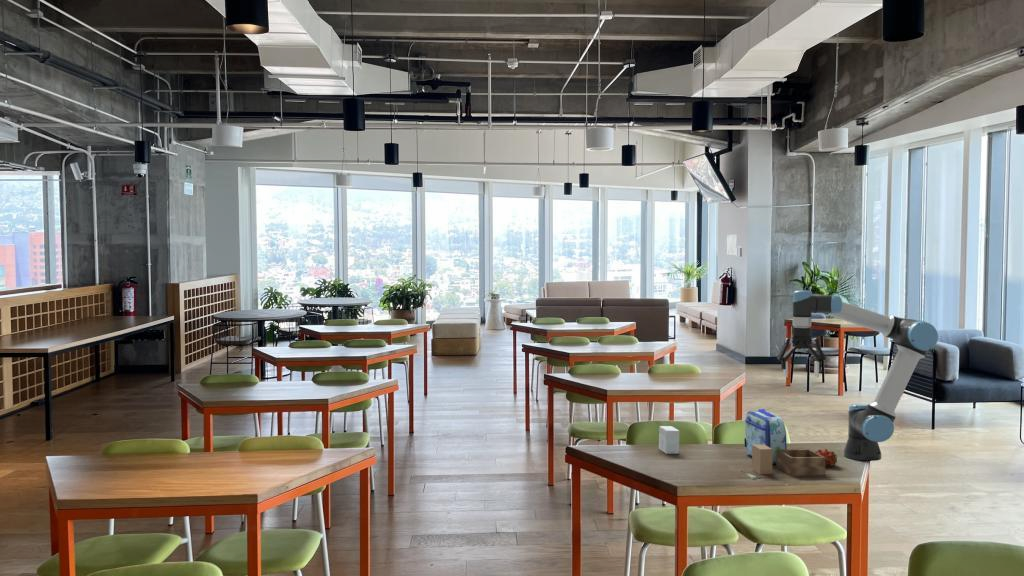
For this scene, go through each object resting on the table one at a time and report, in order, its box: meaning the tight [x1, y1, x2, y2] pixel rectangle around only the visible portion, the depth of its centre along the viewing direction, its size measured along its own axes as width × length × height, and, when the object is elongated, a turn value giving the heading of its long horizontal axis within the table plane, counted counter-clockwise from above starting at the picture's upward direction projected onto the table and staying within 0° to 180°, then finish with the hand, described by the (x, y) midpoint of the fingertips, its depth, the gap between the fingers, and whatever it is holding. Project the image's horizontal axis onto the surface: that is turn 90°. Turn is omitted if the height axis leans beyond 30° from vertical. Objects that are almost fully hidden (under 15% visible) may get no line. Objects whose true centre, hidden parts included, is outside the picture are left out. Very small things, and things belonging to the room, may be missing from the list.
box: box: [775, 448, 826, 477], centre depth 321 cm, size 14×14×8 cm
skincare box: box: [658, 425, 680, 455], centre depth 357 cm, size 10×6×10 cm, turn 7°
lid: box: [740, 444, 773, 480], centre depth 320 cm, size 14×14×11 cm
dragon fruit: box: [815, 448, 838, 469], centre depth 329 cm, size 8×8×12 cm
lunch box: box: [744, 408, 788, 465], centre depth 342 cm, size 26×11×21 cm, turn 3°
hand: (801, 376), depth 336 cm, fingers open, 13 cm apart
